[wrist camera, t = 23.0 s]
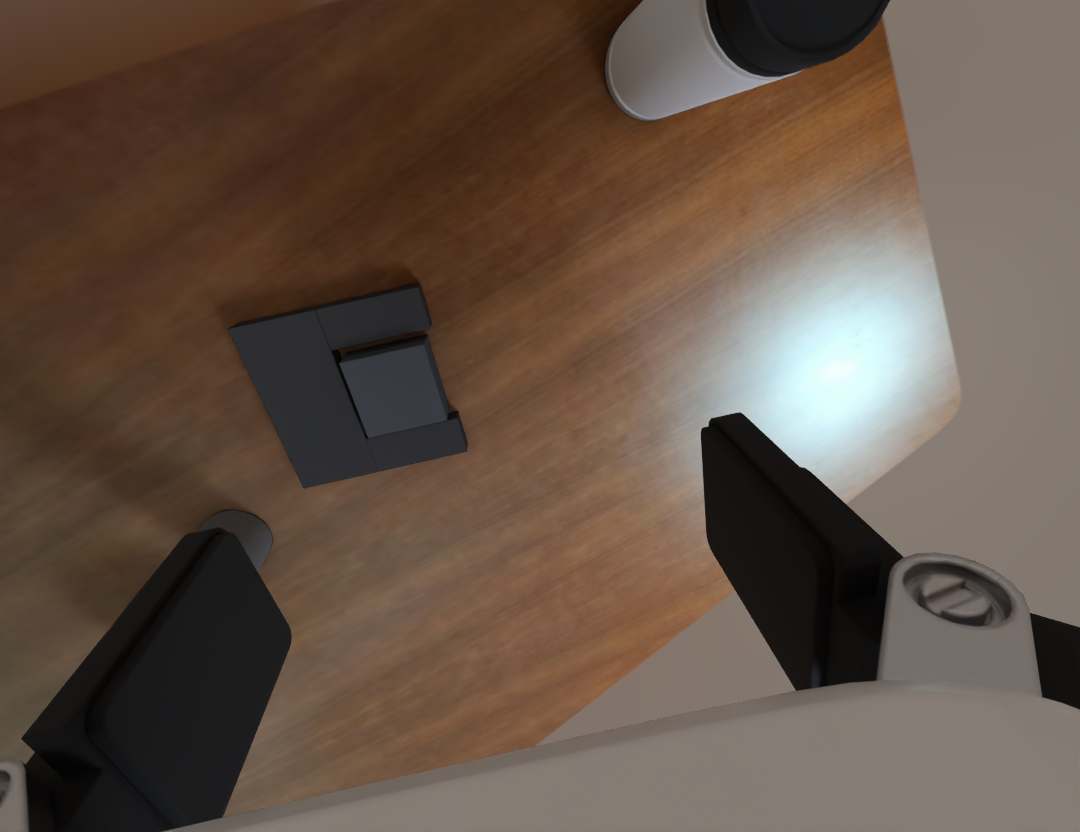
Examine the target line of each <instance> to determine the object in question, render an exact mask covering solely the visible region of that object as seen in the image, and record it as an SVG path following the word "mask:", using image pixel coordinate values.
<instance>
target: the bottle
mask: <svg viewBox="0 0 1080 832" xmlns="http://www.w3.org/2000/svg"><path fill="white" fill-rule="evenodd" d="M217 527H219V528H223V529H224V530H226V531H227V532H231V533H233V534H235V535H236V536H237V538H238V539H239V541H240V542H241V544H242V546H243V548H244V549H245V551H246V553H247V555H248V556H249V558H250V560H251V561H252V563H253V565H254V567H255V568H256V570H257V572H258V571H259V569H260V568H261V566H262V564H263V562H264V560H265V558H266V556H267V555H268V553H269V551H270V549H271V545H272V535H271V532H270V530H269V528H268V527H267V525H266V524H265V523H264V522H263V521H262V520H261V519H259V518H258V517H256V516H254V515H252V514H249V513H246V512H243V511H237V510H230V511H223V512H219V513H217V514H215V515H213V516H212V517H210V518H209V519H208V520H207V521H206V522H205V524H204V525H203V526H202V527H201V528H200V529H199V531H203V530H208V529H212V528H217ZM199 531H198V532H199Z"/></svg>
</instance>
